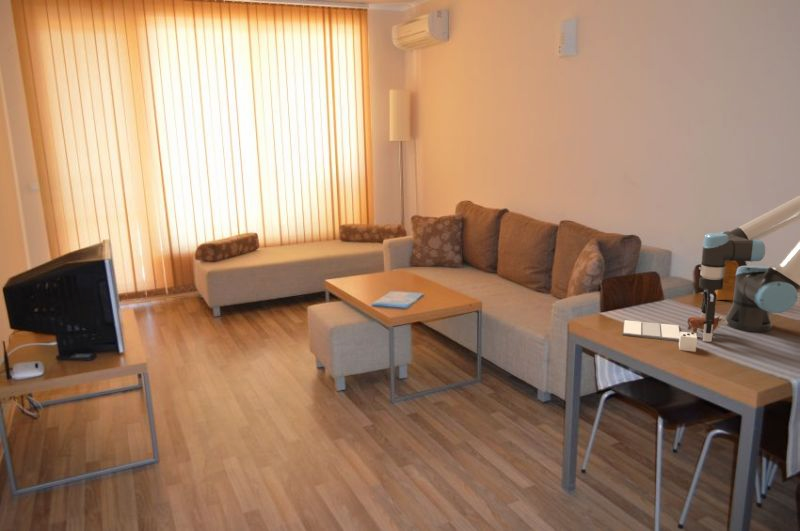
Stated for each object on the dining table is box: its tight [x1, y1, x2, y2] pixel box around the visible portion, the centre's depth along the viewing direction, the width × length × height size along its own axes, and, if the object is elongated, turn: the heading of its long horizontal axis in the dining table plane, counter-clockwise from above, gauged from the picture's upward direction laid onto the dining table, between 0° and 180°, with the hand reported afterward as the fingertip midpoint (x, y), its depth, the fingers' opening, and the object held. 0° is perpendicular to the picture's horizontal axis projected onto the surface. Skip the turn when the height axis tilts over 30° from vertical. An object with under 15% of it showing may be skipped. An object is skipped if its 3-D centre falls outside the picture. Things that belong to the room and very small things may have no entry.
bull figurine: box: [687, 315, 728, 338], centre depth 218 cm, size 4×13×8 cm, turn 78°
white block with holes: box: [678, 331, 698, 353], centre depth 207 cm, size 5×5×6 cm
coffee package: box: [715, 261, 740, 302], centre depth 263 cm, size 10×12×22 cm
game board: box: [622, 319, 681, 342], centre depth 225 cm, size 20×16×1 cm
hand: (705, 335), depth 219 cm, fingers open, 11 cm apart
